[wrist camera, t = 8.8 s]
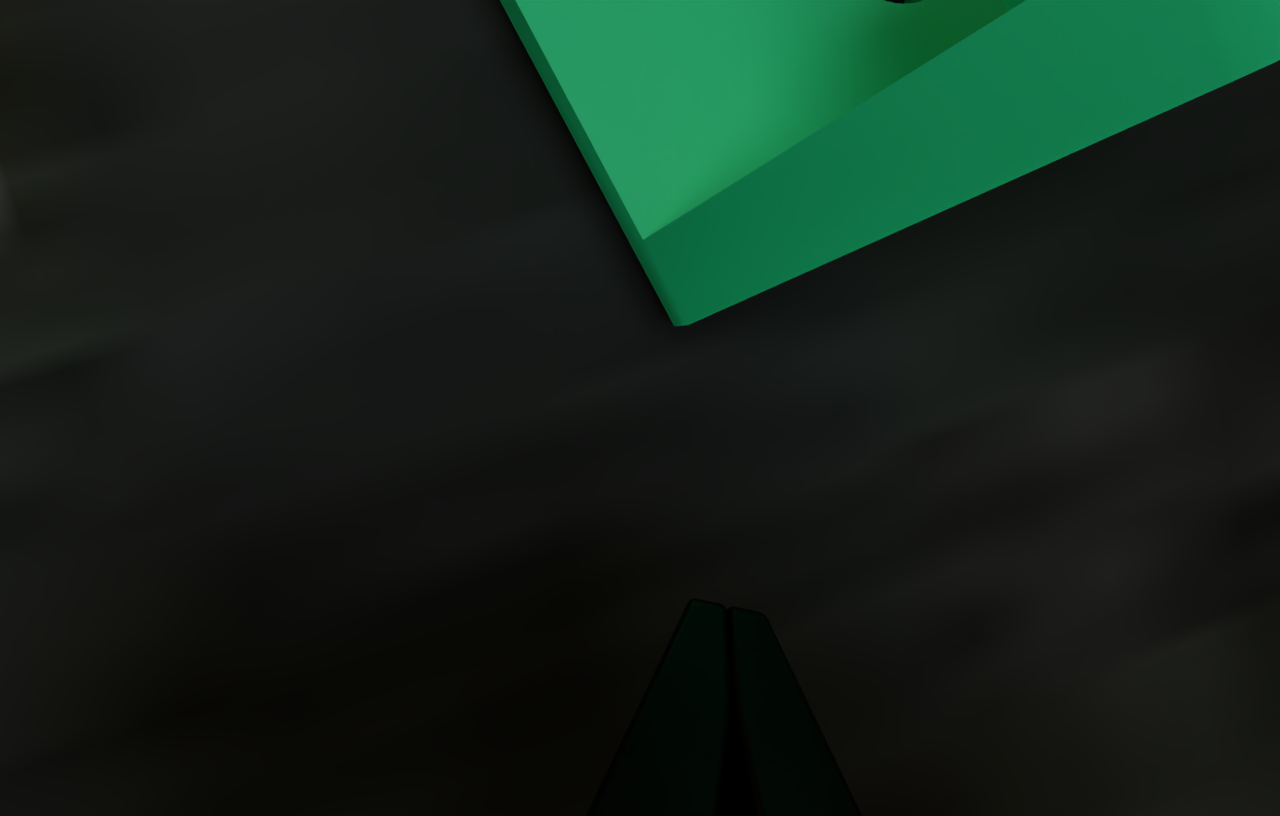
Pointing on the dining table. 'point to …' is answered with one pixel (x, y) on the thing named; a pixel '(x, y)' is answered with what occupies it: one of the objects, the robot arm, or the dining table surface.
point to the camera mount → (850, 112)
